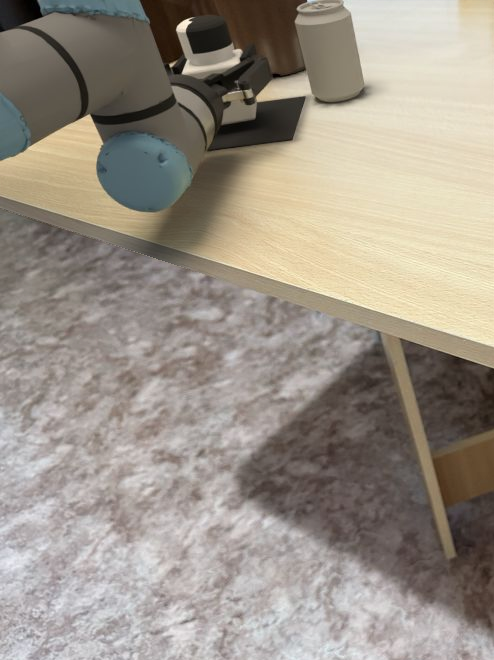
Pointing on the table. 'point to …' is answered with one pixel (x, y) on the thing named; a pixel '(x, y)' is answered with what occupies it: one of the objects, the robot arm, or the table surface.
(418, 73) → the table surface
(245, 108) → the medicine bottle
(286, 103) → the mat
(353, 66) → the can
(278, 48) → the plant pot
